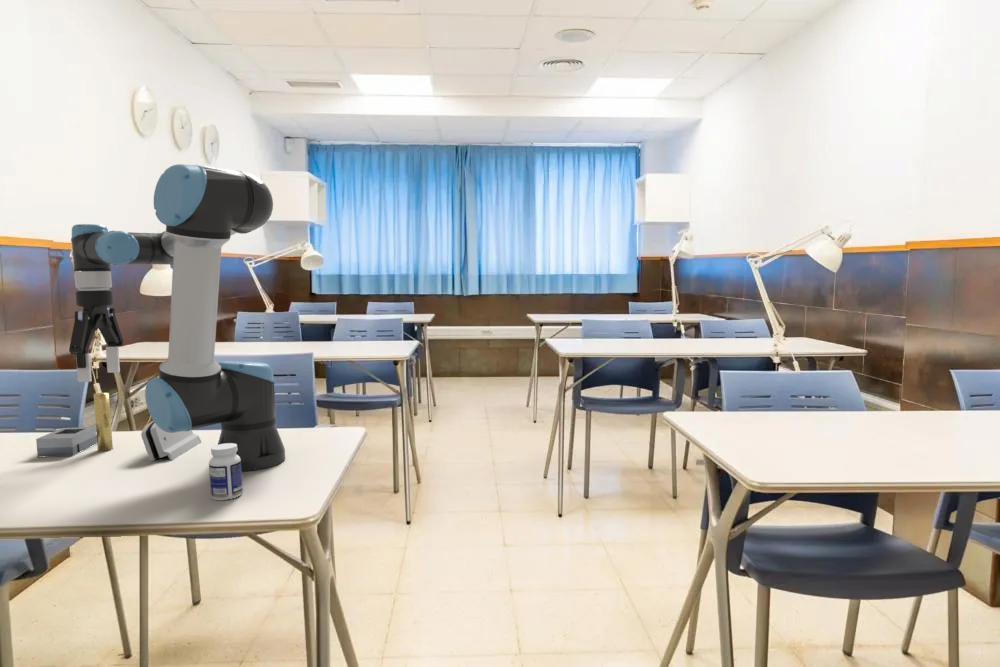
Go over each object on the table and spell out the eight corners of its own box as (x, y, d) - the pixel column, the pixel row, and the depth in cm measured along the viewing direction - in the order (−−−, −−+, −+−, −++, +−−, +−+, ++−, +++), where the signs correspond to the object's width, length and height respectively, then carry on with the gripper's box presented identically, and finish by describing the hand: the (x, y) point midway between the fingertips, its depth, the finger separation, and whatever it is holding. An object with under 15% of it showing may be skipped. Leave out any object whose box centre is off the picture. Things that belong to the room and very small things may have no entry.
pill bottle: (237, 489, 131) (234, 440, 130) (246, 496, 127) (244, 446, 126) (207, 495, 128) (204, 445, 127) (215, 503, 123) (213, 451, 122)
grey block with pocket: (65, 444, 167) (64, 427, 167) (98, 443, 168) (97, 426, 167) (37, 457, 156) (36, 438, 155) (73, 455, 156) (71, 437, 156)
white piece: (171, 460, 152) (154, 421, 151) (152, 467, 152) (134, 428, 151) (202, 441, 168) (186, 405, 167) (185, 448, 168) (169, 412, 167)
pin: (108, 451, 160) (104, 394, 159) (95, 451, 160) (91, 395, 158) (115, 447, 163) (111, 392, 162) (101, 448, 163) (97, 392, 162)
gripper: (104, 287, 170) (109, 369, 172) (46, 291, 145) (53, 386, 147) (134, 287, 170) (139, 368, 173) (82, 291, 146) (88, 385, 148)
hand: (100, 376), depth 160 cm, fingers open, 13 cm apart
